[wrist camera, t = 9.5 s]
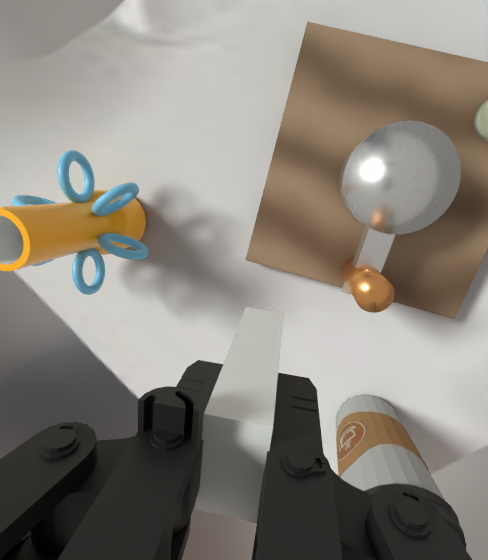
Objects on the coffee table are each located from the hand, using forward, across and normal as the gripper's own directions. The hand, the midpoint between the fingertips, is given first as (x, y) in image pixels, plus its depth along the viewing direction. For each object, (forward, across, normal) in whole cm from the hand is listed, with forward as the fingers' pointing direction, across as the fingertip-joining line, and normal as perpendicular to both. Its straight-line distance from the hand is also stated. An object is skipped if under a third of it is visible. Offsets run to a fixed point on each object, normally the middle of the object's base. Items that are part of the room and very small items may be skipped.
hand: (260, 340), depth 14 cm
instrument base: (+21, -8, -7) cm, 24 cm away
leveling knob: (+19, -8, -5) cm, 21 cm away
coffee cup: (+21, -12, +18) cm, 30 cm away
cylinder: (+21, +17, -1) cm, 27 cm away
